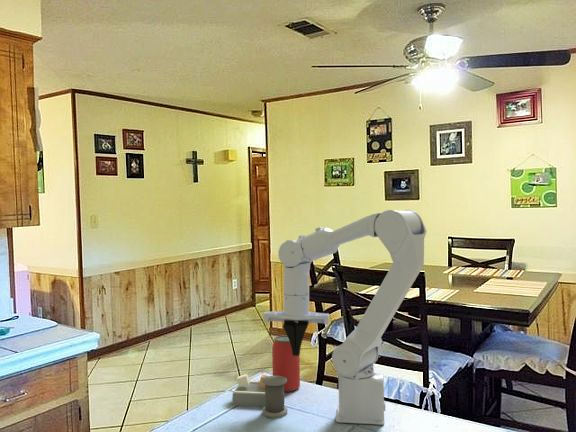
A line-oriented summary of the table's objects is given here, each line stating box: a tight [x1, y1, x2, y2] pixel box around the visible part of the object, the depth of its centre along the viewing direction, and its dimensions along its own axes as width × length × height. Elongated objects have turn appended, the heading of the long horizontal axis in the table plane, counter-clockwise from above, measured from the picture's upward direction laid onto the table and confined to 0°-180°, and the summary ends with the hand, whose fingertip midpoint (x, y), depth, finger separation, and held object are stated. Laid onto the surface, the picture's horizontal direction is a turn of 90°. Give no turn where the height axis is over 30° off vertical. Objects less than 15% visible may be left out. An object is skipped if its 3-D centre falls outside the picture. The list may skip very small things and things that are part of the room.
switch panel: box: [232, 380, 265, 408], centre depth 112 cm, size 8×8×3 cm
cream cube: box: [236, 373, 251, 387], centre depth 112 cm, size 2×2×2 cm
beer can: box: [271, 334, 301, 393], centre depth 118 cm, size 7×7×12 cm
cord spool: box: [262, 375, 288, 419], centre depth 104 cm, size 5×5×7 cm
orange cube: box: [259, 374, 268, 387], centre depth 111 cm, size 2×2×2 cm
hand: (296, 354), depth 110 cm, fingers closed
